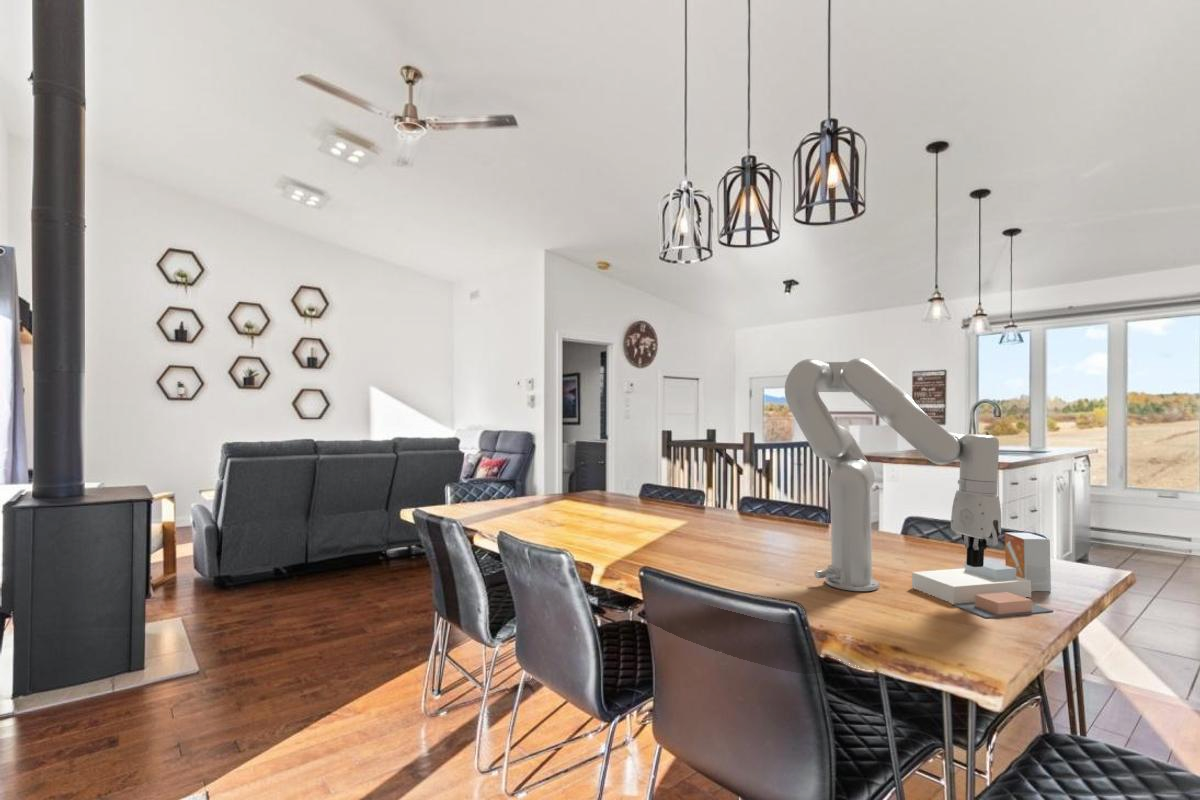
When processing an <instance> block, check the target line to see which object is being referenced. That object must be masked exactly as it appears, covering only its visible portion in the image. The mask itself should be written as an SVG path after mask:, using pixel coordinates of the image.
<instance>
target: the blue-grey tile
mask: <svg viewBox="0 0 1200 800" xmlns="http://www.w3.org/2000/svg"><path fill="white" fill-rule="evenodd" d="M966 561H967V560H964V568H965V571H967V572H971V573H974V574H977V575H980V576H984V577H987V578H990V579H993V580H1007V579H1016V568H1013V567H1010V566H1006V565H1005V564H1002V563H999V562H994V561H991V560H987V559H984V564H983V567H972V566H969V565H967V564H966Z"/></svg>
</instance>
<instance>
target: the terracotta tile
mask: <svg viewBox="0 0 1200 800" xmlns="http://www.w3.org/2000/svg"><path fill="white" fill-rule="evenodd" d="M1032 604H1033V600H1032V599H1030V598H1024V597H1021V596H1018V595H1015V594H1012V593H1009V592H1002V593H991V594H979V595H975V606H977V607H979V608H982V609H985V610H987V611H990V612H993V613H995V614H998V615H1000V614H1011V613H1021V612H1032Z"/></svg>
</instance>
